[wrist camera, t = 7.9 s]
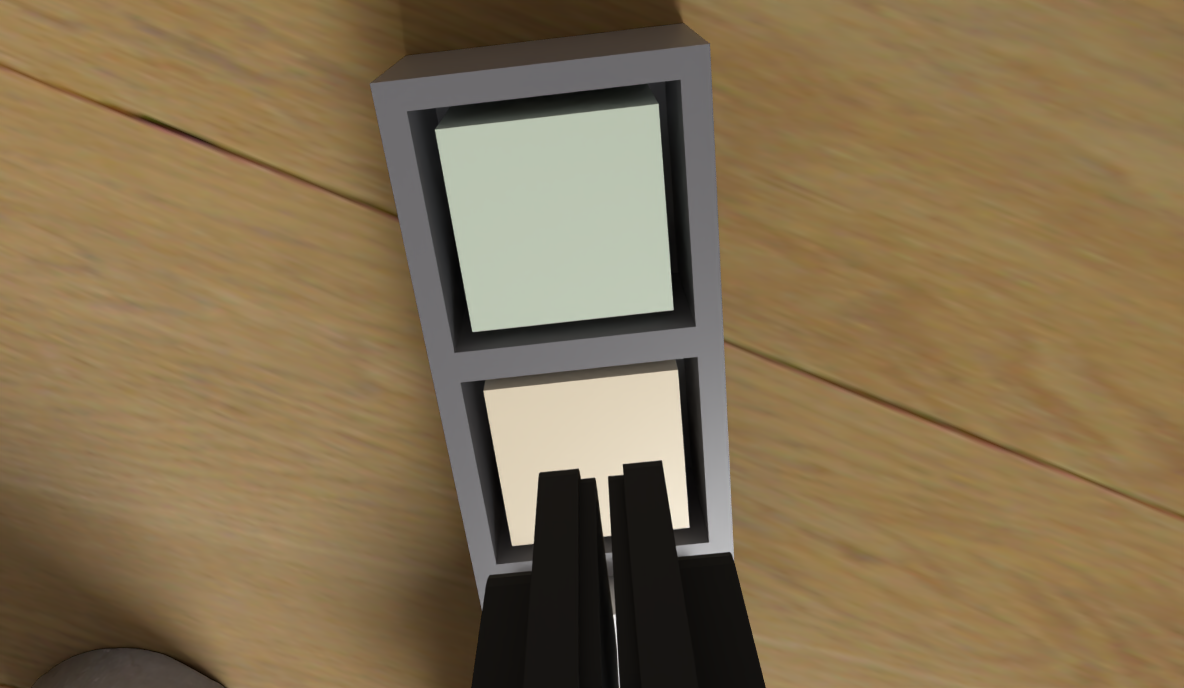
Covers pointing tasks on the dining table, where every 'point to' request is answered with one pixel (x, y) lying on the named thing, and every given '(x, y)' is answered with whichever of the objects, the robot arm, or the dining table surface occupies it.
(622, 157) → the key sage
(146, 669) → the pillar candle
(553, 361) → the grey compartment tray
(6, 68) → the dining table surface
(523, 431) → the key sand
